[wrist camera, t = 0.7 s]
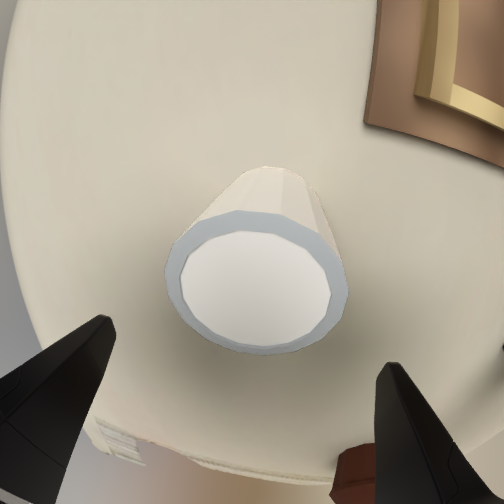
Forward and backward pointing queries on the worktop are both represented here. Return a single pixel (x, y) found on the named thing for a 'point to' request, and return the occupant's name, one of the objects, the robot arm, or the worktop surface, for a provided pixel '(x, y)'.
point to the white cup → (259, 267)
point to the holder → (440, 73)
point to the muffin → (355, 476)
